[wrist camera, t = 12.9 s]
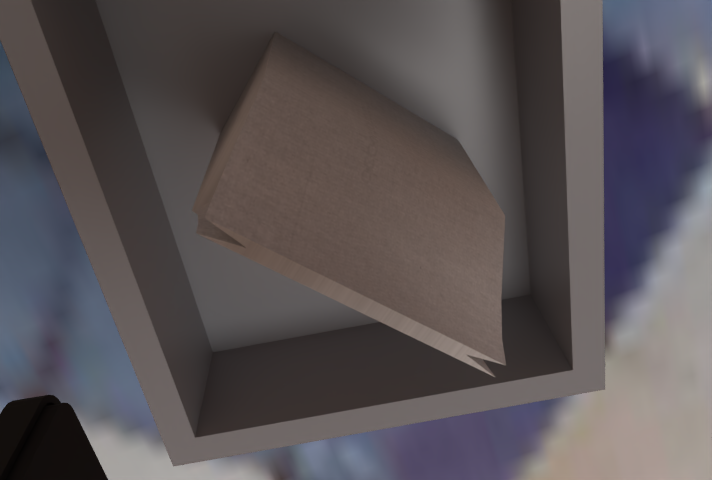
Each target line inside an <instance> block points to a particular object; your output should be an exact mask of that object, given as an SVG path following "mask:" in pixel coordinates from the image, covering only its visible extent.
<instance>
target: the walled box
mask: <svg viewBox="0 0 712 480" xmlns="http://www.w3.org/2000/svg"><path fill="white" fill-rule="evenodd" d="M275 31H276V32H277V33H279V34H281V35H282V36H284V37H286V38H287V39H289V40H291V41H292V42H294V43H296V44H297V45H299V46H301V47H303V48H304V49H306V50H308V51H309V52H311V53H313V54H314V55H316V56H318V57H319V58H321V59H323V60H324V61H326V62H328V63H329V64H331V65H333V66H335V67H336V68H338V69H340V70H341V71H343V72H345V73H346V74H348V75H350V76H351V77H353V78H355V79H356V80H358V81H360V82H361V83H363V84H365V85H367V86H368V87H370V88H372V89H373V90H375V91H377V92H378V93H380V94H382V95H383V96H385V97H387V98H388V99H390V100H392V101H393V102H395V103H397V104H399V105H400V106H402V107H404V108H405V109H407V110H409V111H410V112H412V113H414V114H415V115H417V116H419V117H420V118H422V119H424V120H425V121H427V122H429V123H431V124H432V125H434V126H436V127H437V128H439V129H441V130H442V131H444V132H446V133H447V134H449V135H451V136H452V137H454V138H456V139H457V140H459V142H460V144H461V145H462V147H463V148H464V150H465V152H466V153H467V155H468V156H469V158H470V160H471V161H472V163H473V165H474V166H475V168H476V169H477V171H478V173H479V174H480V176H481V177H482V179H483V181H484V182H485V184H486V186H487V187H488V189H489V190H490V192H491V194H492V195H493V197H494V198H495V200H496V202H497V203H498V205H499V207H500V208H501V210H502V211H503V213H504V215H505V230H504V252H503V273H502V294H501V310H502V342H503V348H504V354H505V361H506V365H502V364H499V363H495V362H492V361H488V360H484V359H483V361H484V362H485V364H486V365H487V366H488V368H489V369H490V370H491V372H492V373H493V374H494V376H495V377H494V376H492V375H489V374H487V373H485V372H483V371H481V370H479V369H477V368H475V367H473V366H471V365H469V364H467V363H465V362H462V361H460V360H458V359H456V358H454V357H452V356H450V355H448V354H446V353H444V352H442V351H440V350H438V349H435V348H433V347H431V346H429V345H427V344H425V343H423V342H421V341H419V340H417V339H415V338H413V337H411V336H408V335H406V334H404V333H402V332H400V331H398V330H396V329H394V328H392V327H390V326H388V325H386V324H384V323H381V322H379V321H377V320H375V319H373V318H371V317H369V316H367V315H365V314H363V313H361V312H359V311H357V310H354V309H352V308H350V307H348V306H346V305H344V304H342V303H340V302H338V301H336V300H334V299H332V298H330V297H327V296H325V295H323V294H321V293H319V292H317V291H315V290H313V289H311V288H309V287H307V286H305V285H302V284H300V283H298V282H296V281H294V280H292V279H290V278H288V277H286V276H284V275H282V274H280V273H278V272H275V271H273V270H271V269H269V268H267V267H265V266H263V265H261V264H259V263H257V262H255V261H253V260H251V259H248V258H246V257H244V256H242V255H240V254H238V253H236V252H234V251H232V250H230V249H228V248H226V247H224V246H221V245H219V244H217V243H215V242H213V241H211V240H209V239H207V238H205V237H203V236H201V235H199V234H197V233H196V231H197V226H198V215H197V214H196V213H194V212H193V211H192V209H193V206H194V203H195V200H196V198H197V195H198V192H199V190H200V187H201V184H202V181H203V179H204V176H205V173H206V171H207V168H208V165H209V162H210V160H211V157H212V154H213V152H214V149H215V146H216V144H217V141H218V138H219V135H220V133H221V131H222V129H223V128H224V126H225V124H226V122H227V120H228V118H229V116H230V114H231V113H232V111H233V109H234V107H235V105H236V103H237V101H238V100H239V98H240V96H241V94H242V92H243V90H244V88H245V87H246V85H247V83H248V81H249V79H250V77H251V75H252V74H253V72H254V70H255V68H256V66H257V64H258V62H259V61H260V59H261V57H262V55H263V53H264V51H265V49H266V48H267V46H268V44H269V42H270V40H271V38H272V36H273V34H274V33H275ZM0 40H1V43H2V45H3V48H4V50H5V53H6V55H7V58H8V60H9V63H10V65H11V68H12V70H13V72H14V75H15V77H16V80H17V82H18V85H19V87H20V90H21V92H22V95H23V97H24V100H25V102H26V105H27V107H28V109H29V112H30V114H31V117H32V119H33V122H34V124H35V127H36V129H37V132H38V134H39V137H40V139H41V142H42V144H43V146H44V149H45V151H46V154H47V156H48V159H49V161H50V164H51V166H52V169H53V171H54V174H55V176H56V178H57V181H58V183H59V186H60V188H61V191H62V193H63V196H64V198H65V201H66V203H67V206H68V208H69V211H70V213H71V215H72V218H73V220H74V223H75V225H76V228H77V230H78V233H79V235H80V238H81V240H82V243H83V245H84V247H85V250H86V252H87V255H88V257H89V260H90V262H91V265H92V267H93V270H94V272H95V275H96V277H97V280H98V282H99V284H100V287H101V289H102V292H103V294H104V297H105V299H106V302H107V304H108V307H109V309H110V312H111V314H112V316H113V319H114V321H115V324H116V326H117V329H118V331H119V334H120V336H121V339H122V341H123V344H124V346H125V349H126V351H127V353H128V356H129V358H130V361H131V363H132V366H133V368H134V371H135V373H136V376H137V378H138V381H139V383H140V385H141V388H142V390H143V393H144V395H145V398H146V400H147V403H148V405H149V408H150V410H151V413H152V415H153V418H154V420H155V422H156V425H157V427H158V430H159V432H160V435H161V437H162V440H163V442H164V445H165V447H166V450H167V452H168V455H169V457H170V459H171V462H172V464H173V466H178V465H184V464H189V463H195V462H201V461H206V460H212V459H217V458H223V457H229V456H234V455H240V454H245V453H251V452H257V451H262V450H268V449H273V448H279V447H285V446H290V445H296V444H301V443H307V442H313V441H318V440H324V439H329V438H335V437H341V436H346V435H352V434H357V433H363V432H369V431H374V430H380V429H385V428H391V427H397V426H402V425H408V424H413V423H419V422H425V421H430V420H436V419H442V418H447V417H453V416H458V415H464V414H470V413H475V412H481V411H486V410H492V409H498V408H503V407H509V406H514V405H520V404H526V403H531V402H537V401H542V400H548V399H554V398H559V397H565V396H570V395H576V394H582V393H587V392H593V391H598V390H604V389H605V305H604V161H603V18H602V0H0Z"/></svg>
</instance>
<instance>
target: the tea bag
mask: <svg viewBox="0 0 712 480" xmlns="http://www.w3.org/2000/svg"><path fill="white" fill-rule="evenodd" d="M192 211H193V212H194V213H196V214H197V215H198V226H197V231H196V233H197V234H199V235H201V236H203V237H205V238H207V239H209V240H211V241H213V242H215V243H217V244H219V245H221V246H224V247H226V248H228V249H230V250H232V251H234V252H236V253H238V254H240V255H242V256H244V257H246V258H248V259H251V260H253V261H255V262H257V263H259V264H261V265H263V266H265V267H267V268H269V269H271V270H273V271H275V272H278V273H280V274H282V275H284V276H286V277H288V278H290V279H292V280H294V281H296V282H298V283H300V284H302V285H305V286H307V287H309V288H311V289H313V290H315V291H317V292H319V293H321V294H323V295H325V296H327V297H330V298H332V299H334V300H336V301H338V302H340V303H342V304H344V305H346V306H348V307H350V308H352V309H354V310H357V311H359V312H361V313H363V314H365V315H367V316H369V317H371V318H373V319H375V320H377V321H379V322H381V323H384V324H386V325H388V326H390V327H392V328H394V329H396V330H398V331H400V332H402V333H404V334H406V335H408V336H411V337H413V338H415V339H417V340H419V341H421V342H423V343H425V344H427V345H429V346H431V347H433V348H435V349H438V350H440V351H442V352H444V353H446V354H448V355H450V356H452V357H454V358H456V359H458V360H460V361H462V362H465V363H467V364H469V365H471V366H473V367H475V368H477V369H479V370H481V371H483V372H485V373H487V374H489V375H492V376H494V374H493V373H492V372H491V370H490V369H489V368H488V366H487V365H486V364H485V362H484V361H483V359H484V360H488V361H492V362H495V363H499V364H502V365H506V361H505V354H504V348H503V342H502V310H501V294H502V273H503V252H504V230H505V215H504V213H503V211H502V210H501V208H500V207H499V205H498V203H497V202H496V200H495V198H494V197H493V195H492V194H491V192H490V190H489V189H488V187H487V186H486V184H485V182H484V181H483V179H482V177H481V176H480V174H479V173H478V171H477V169H476V168H475V166H474V165H473V163H472V161H471V160H470V158H469V156H468V155H467V153H466V152H465V150H464V148H463V147H462V145H461V144H460V142H459V140H457V139H456V138H454V137H452V136H451V135H449V134H447V133H446V132H444V131H442V130H441V129H439V128H437V127H436V126H434V125H432V124H431V123H429V122H427V121H425V120H424V119H422V118H420V117H419V116H417V115H415V114H414V113H412V112H410V111H409V110H407V109H405V108H404V107H402V106H400V105H399V104H397V103H395V102H393V101H392V100H390V99H388V98H387V97H385V96H383V95H382V94H380V93H378V92H377V91H375V90H373V89H372V88H370V87H368V86H367V85H365V84H363V83H361V82H360V81H358V80H356V79H355V78H353V77H351V76H350V75H348V74H346V73H345V72H343V71H341V70H340V69H338V68H336V67H335V66H333V65H331V64H329V63H328V62H326V61H324V60H323V59H321V58H319V57H318V56H316V55H314V54H313V53H311V52H309V51H308V50H306V49H304V48H303V47H301V46H299V45H297V44H296V43H294V42H292V41H291V40H289V39H287V38H286V37H284V36H282V35H281V34H279V33H277V32H276V31H275V33H274V34H273V36H272V38H271V40H270V42H269V44H268V46H267V48H266V49H265V51H264V53H263V55H262V57H261V59H260V61H259V62H258V64H257V66H256V68H255V70H254V72H253V74H252V75H251V77H250V79H249V81H248V83H247V85H246V87H245V88H244V90H243V92H242V94H241V96H240V98H239V100H238V101H237V103H236V105H235V107H234V109H233V111H232V113H231V114H230V116H229V118H228V120H227V122H226V124H225V126H224V128H223V129H222V131H221V133H220V135H219V138H218V141H217V144H216V146H215V149H214V152H213V154H212V157H211V160H210V162H209V165H208V168H207V171H206V173H205V176H204V179H203V181H202V184H201V187H200V190H199V192H198V195H197V198H196V200H195V203H194V206H193V209H192ZM494 377H495V376H494Z"/></svg>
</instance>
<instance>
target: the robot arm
mask: <svg viewBox="0 0 712 480" xmlns="http://www.w3.org/2000/svg"><path fill="white" fill-rule="evenodd" d="M0 480H108V479H107V477H106V475H105V473H104V471H103V469H102V466H101V464H100V462H99V460H98V458H97V456H96V454H95V452H94V450H93V448H92V446H91V444H90V442H89V440H88V438H87V436H86V434H85V432H84V430H83V428H82V426H81V424H80V422H79V420H78V418H77V416H76V414H75V412H74V410H73V408H72V407H71V405H69V404H68V403H61V402H60V401H59V399H58V398H56V397H55V396H54V395H45V396H39V397H33V398H27V399H21V400H15V401H12V402H10V403H8V404H7V405H6V406H5V408H4V409H3V410H2V412H1V414H0Z"/></svg>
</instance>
